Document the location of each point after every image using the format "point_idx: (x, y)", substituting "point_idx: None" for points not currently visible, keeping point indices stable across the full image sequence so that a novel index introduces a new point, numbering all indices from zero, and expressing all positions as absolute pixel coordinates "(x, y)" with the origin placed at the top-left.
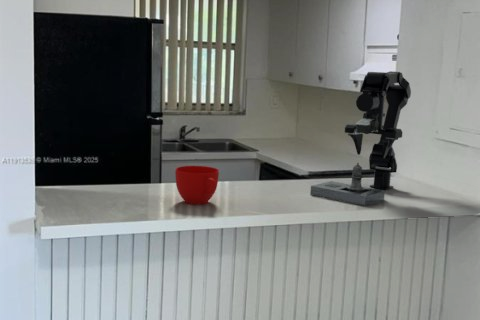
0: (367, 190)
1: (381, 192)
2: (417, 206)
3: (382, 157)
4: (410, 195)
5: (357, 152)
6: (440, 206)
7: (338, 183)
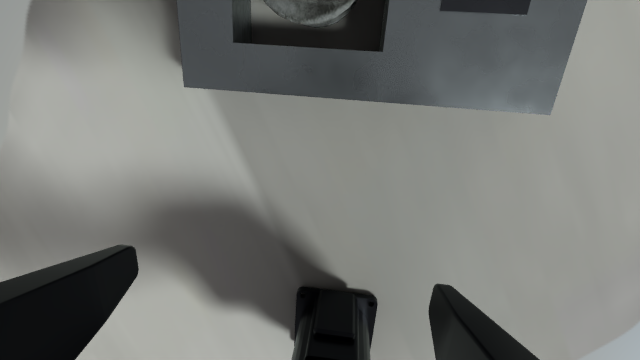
0: (267, 45)
1: (183, 47)
2: (48, 71)
3: (126, 247)
4: (184, 258)
5: (459, 297)
6: (8, 148)
7: (483, 76)
